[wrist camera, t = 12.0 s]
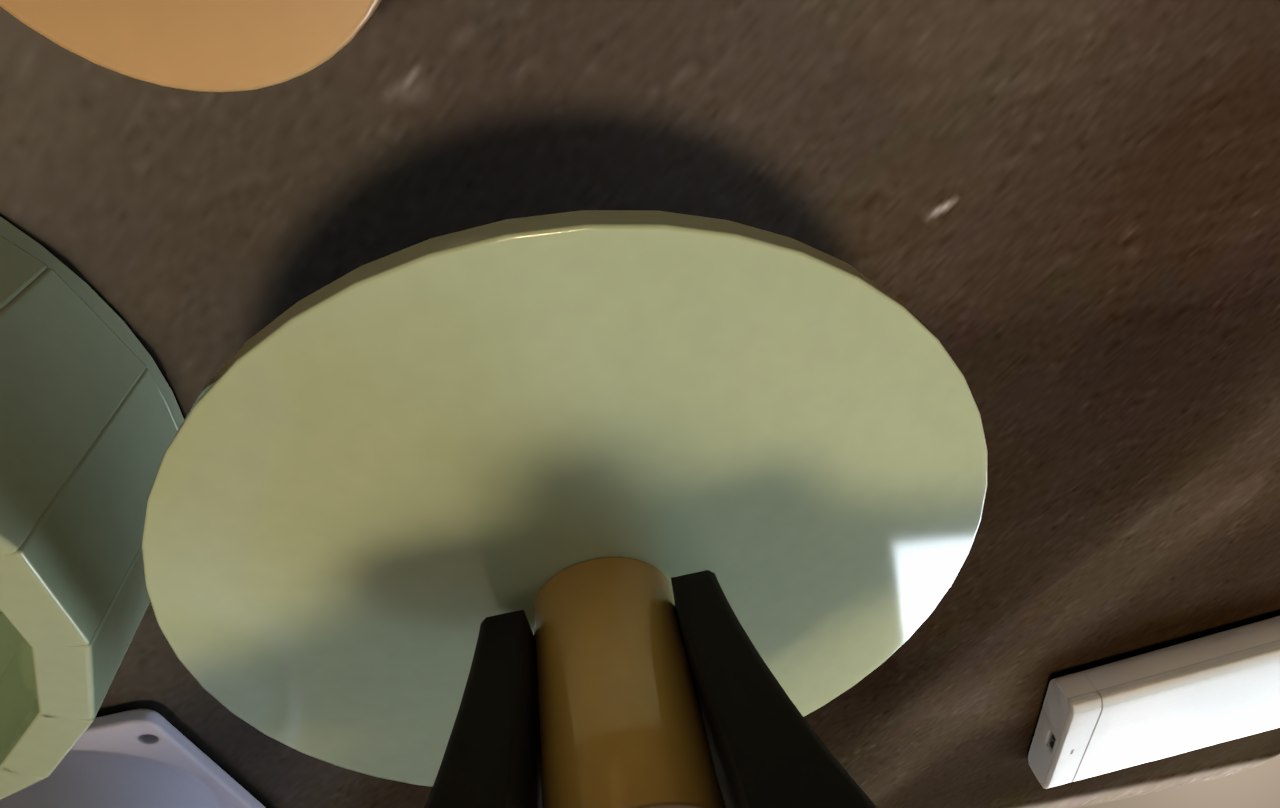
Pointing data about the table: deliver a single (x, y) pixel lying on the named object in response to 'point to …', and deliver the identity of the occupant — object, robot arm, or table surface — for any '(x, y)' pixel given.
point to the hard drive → (1159, 704)
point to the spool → (200, 37)
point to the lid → (562, 492)
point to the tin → (68, 502)
